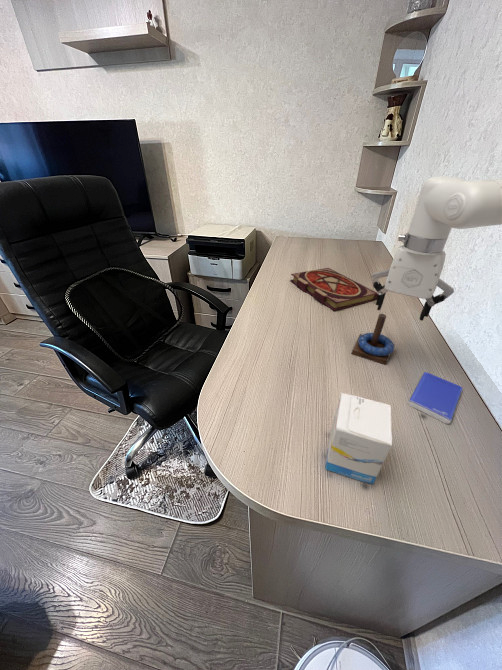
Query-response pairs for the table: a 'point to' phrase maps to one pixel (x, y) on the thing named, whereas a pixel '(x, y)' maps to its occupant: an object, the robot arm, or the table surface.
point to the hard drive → (436, 397)
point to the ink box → (359, 438)
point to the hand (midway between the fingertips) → (399, 312)
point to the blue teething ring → (374, 350)
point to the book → (333, 288)
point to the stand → (373, 343)
